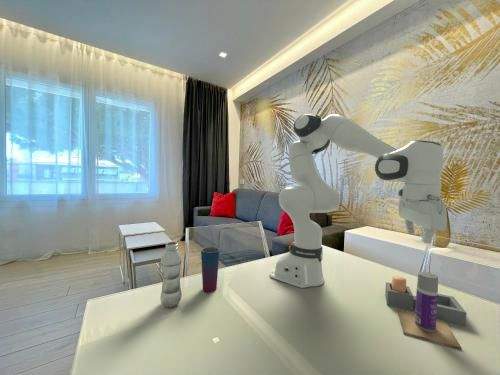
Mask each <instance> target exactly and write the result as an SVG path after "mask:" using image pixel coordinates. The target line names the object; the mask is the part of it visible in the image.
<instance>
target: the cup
mask: <svg viewBox="0 0 500 375" xmlns="http://www.w3.org/2000/svg"><path fill="white" fill-rule="evenodd" d="M220 250H221V248H219V247H217V246H206V247H203V248H201V250H200V254H201V256H200V257H201V280H202V282H201V283H202V291H203V292H204V293H209V294H210V293H214V292H216V291H217V288H218V287H217V285H218V274H219V265H220V263H219V260H220Z"/></svg>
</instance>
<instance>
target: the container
mask: <svg viewBox="0 0 500 375" xmlns="http://www.w3.org/2000/svg"><path fill="white" fill-rule="evenodd" d="M416 292H417V293H416ZM416 292H415V293H416V295H415V296H416V309H415V310H414V311H415V312H414V313H415V324H416V326H418V327H419V328H421V329H423V330H425V331H429V332H434V331H435V330H436V316H437V299H438V294H439V276H438V275H436V274H435V273H432V272H429V271H418V272H417V283H416Z"/></svg>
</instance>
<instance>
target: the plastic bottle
mask: <svg viewBox="0 0 500 375" xmlns="http://www.w3.org/2000/svg"><path fill="white" fill-rule="evenodd" d="M178 246H179V244H178V242H177V241H169V242H166V243H165V248H164V249H165V252H164V254H163V255H162V257H161V259H160V265H161V273H162V274H161V276H162V286H161V293H160V303H161V304H162V306H163V307H165V308H173V307H176V306H178V305H179V304H180V302H181V301H182V296H183V295H182V288H181V268H182V261H183V258H182V255H181V254H180V252H179V251H178V250H179V247H178Z"/></svg>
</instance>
